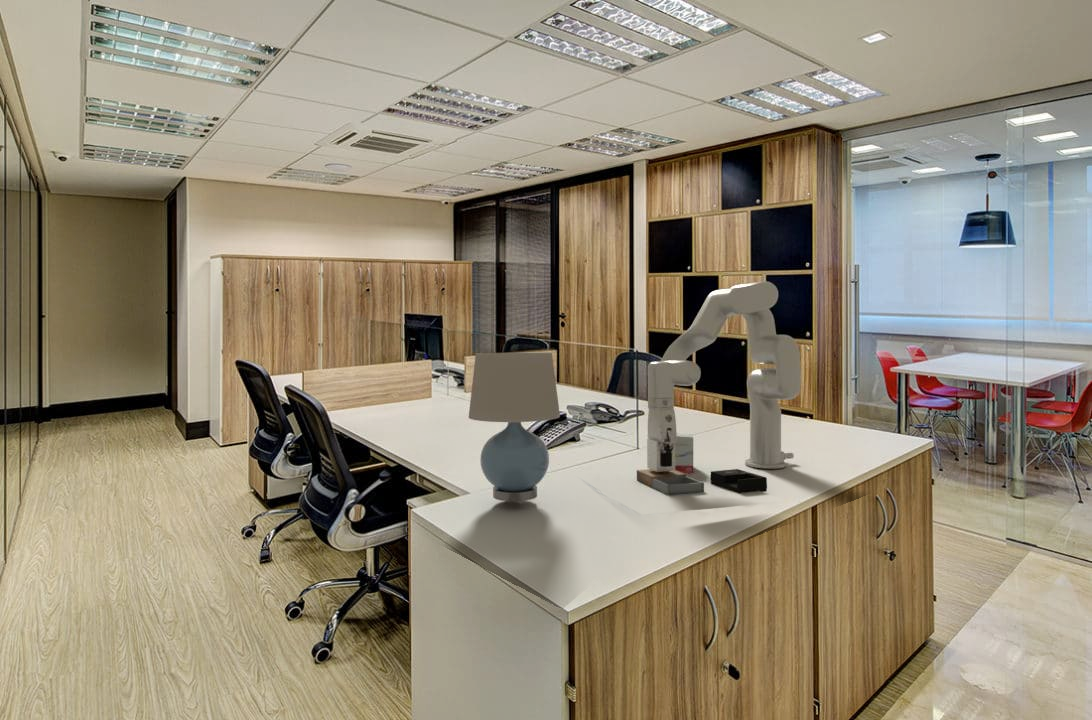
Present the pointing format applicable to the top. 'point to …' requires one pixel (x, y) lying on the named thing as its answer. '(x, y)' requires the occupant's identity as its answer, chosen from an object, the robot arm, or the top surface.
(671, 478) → the tray
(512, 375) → the lamp
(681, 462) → the ink box
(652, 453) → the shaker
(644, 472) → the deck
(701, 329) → the robot arm
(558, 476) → the top surface
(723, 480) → the battery charger
